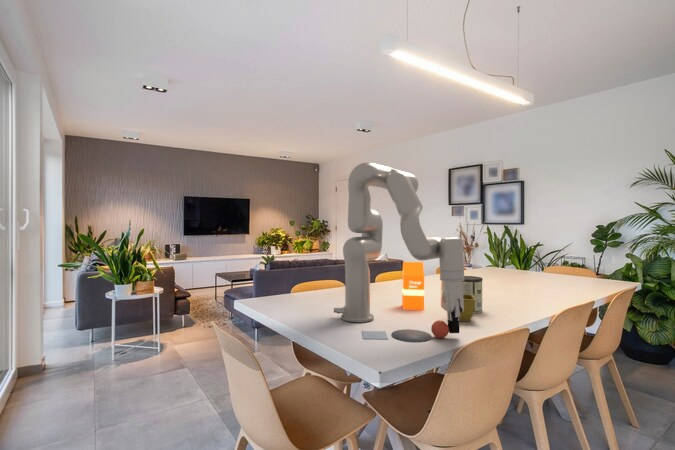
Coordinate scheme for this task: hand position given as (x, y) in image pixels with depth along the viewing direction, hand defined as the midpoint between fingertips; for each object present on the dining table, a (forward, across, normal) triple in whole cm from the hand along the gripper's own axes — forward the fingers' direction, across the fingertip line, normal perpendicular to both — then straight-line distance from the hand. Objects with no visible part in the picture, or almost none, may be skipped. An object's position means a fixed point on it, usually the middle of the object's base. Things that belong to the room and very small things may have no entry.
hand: (453, 332), depth 119 cm
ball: (-1, 0, -4) cm, 4 cm away
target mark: (+1, -2, -13) cm, 13 cm away
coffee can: (+2, -38, +18) cm, 42 cm away
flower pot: (+2, -23, +10) cm, 25 cm away
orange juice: (+1, -43, -5) cm, 43 cm away
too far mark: (+1, -2, -25) cm, 25 cm away
